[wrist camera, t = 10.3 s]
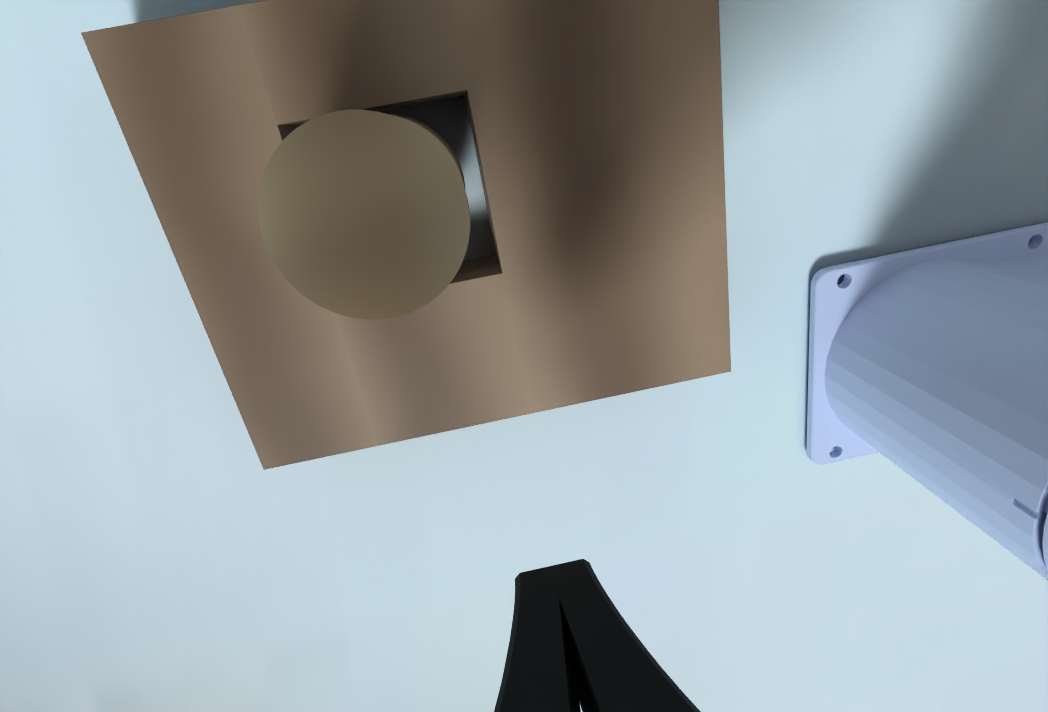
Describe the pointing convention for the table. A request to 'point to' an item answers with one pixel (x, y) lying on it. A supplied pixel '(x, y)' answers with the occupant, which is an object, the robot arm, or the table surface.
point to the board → (509, 187)
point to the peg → (365, 213)
